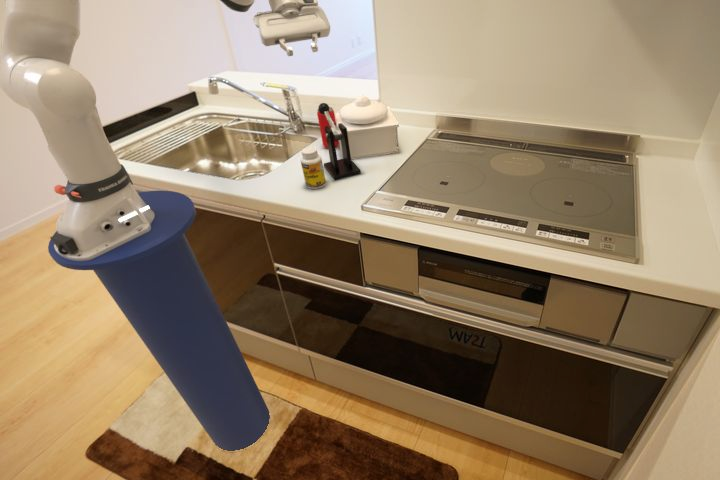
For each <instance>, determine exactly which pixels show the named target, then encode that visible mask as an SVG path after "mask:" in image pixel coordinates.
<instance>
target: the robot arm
mask: <svg viewBox="0 0 720 480" xmlns="http://www.w3.org/2000/svg"><path fill="white" fill-rule="evenodd" d="M219 1H220V2H221V3H223V4H224V5H225V6H226V7H227V8H228V9H230V10H232V11H234V12H238V13H246V12H248V11H249V10H250V8H251V7H252V5H253V4H254V3H255V1H256V0H219ZM268 4H269V7H270V10H267V11H262V12H259V11H258V12H257V13H256V14H255V15H254V16H253V19H252V20H253V23H254V25H255V27H256V28H257V29H258V33H259V37H260V41H261V44H262V45H264V47H271V46H276V45H277V46H279V47H280V48H281V49H282V50H283V51H284V52H285V53H286V56H287V57H293V56H294V51H293V48H292V46H288V45H287V44H290V43H297V42H304V41H309V40H311V41H312V43H310V49H311V51H312V53H318V52H319V47H318V39H322V38H328V37H329V35H330V33H331V24H330V21H329V19H328V17H327V14H326V13H325V11H324V9H323V8H322V7H321V6H319V0H268ZM4 5H5V17H4V26H3V33H2V39H1V44H0V45H1V46H0V88H1V90H3V92H4V93H5V94H6V95H7V97H8V98H10V100H12V101H13V102H14V103H16V104H17V105H19V106H21V107H22V108H23V107H24V108H25V109H28V110H29V111H30V112H31V113H32V114H33V116H34V117H35V118H36V119H35V120H37V122H38V125H39V126H40V128H41V132H42V133H43V136H44V138H45V140H46V144H47V148H48V151H49V152H50V154H51V156H52V157H53V159H54V160H55V163H57V165H58V166H59V168H60V170H61V171H62V173H63V174H64V176H65V178H66V179H67V181H66V186H64V185H61V184H57V185H55V186H54V187H53V190H54V192H55V193H56V194H58V195H62V196H65V195H66V196H67V198H68V201H67V203H66V204H65V206H64V209H63V210H62V212H61V213H60V215H59V217H58V219H57V220H56V223H55V228H56V231H57V232H58V233H57V234H56V235H54V234H53V235H54V236H53V235H52V236H50V237H49V238H50V240H52V241H53V242H54V244H55V245H54V248H55V250H56V252H57V253H58V254H59V255H60V256H62V257H64V258H66V259H69V260H74V261H88V260H91V259H94V258H96V257H98V256H100V255H102V254H104V253H106V252H108V251H110V250H112V249H114V248H116V247H118V246H120V245H122V244H124V243H126V242H128V241H130V240H133V239H135V238H137V237H139V236H141V235H143V234H145V233H147V232H149V231H150V230H151V223H152V221H153V220H154V217H155V214H154V212H153V211H152V210H151V209H150V208H149V206H147V205H146V204H145V202H144V201H143V200H142V199H141V197H140V196H139V194H138V193H139V192H138V191H137V190H136V189H135V187H134V183H133V181H132V179H131V176H130V174H129V173H128V171H127V170H126V168H125V166H124V165H123V164H122V163H121V162H120V161H119V159H118V157H117V155H116V153H115V151H114V150H113V147H112V145H111V144H110V141H109V140H108V137H107V135H106V133H105V130H104V127H103V125H102V122H101V118H100V115H99V114H100V113H99V111H98V108H97V104H96V103H97V95H96V91H95V88H94V87H93V85H92V83H91V82H90V81H89V80H88V78H86V76H84V75H83V74H82V73H81V72H79V70H77V69H76V68H74V67H73V66H71V62H72V57H73V52H74V48H75V46H76V43H77V41H78V40H79V38H80V35H81V0H5V3H4Z"/></svg>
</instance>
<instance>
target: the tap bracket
mask: <svg viewBox="0 0 720 480" xmlns="http://www.w3.org/2000/svg"><path fill="white" fill-rule="evenodd" d="M338 127H339V129H340V131H341V133H342V140H341V146H342V152H343V158H340V159H338V155H337V150H336V149H337V148H335V143H334V137H333V131H332V130H331V129H330V128H329V127H328V126H326V127H324V128H325V136H326V139H327V145H328V149H327V150H328V156H329V161H328V162H324V163H323V168H324V169H325V170H326V171H327V173H328V174H329V176H331V178H332V180H333V181H339V180H342V179H346V178H350V177H354V176H357V175H361V174H362V171H361V169H360V167H358V165H356V164H355V162H354V161H353V159H351V155H350V148H349V141H348V134H347V128H346V127H345V126H344V125H343V124H342V123H340V124H338Z"/></svg>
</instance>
